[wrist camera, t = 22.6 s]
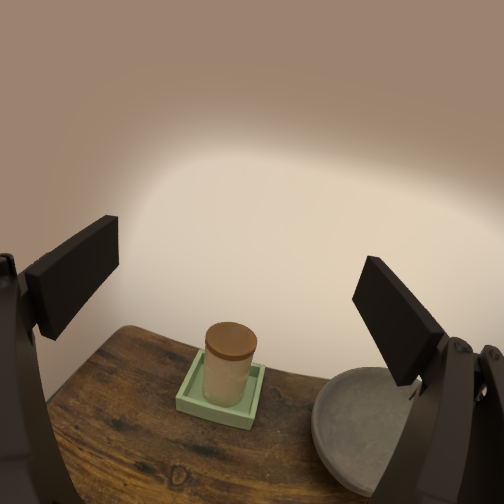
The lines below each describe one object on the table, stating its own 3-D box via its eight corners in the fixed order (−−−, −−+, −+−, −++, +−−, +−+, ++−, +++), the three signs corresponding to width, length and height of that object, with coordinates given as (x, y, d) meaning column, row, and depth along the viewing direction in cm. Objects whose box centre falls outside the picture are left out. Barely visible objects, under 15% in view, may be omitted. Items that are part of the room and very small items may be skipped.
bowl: (435, 492, 19) (472, 467, 16) (297, 521, 19) (323, 506, 16) (401, 396, 39) (423, 364, 36) (291, 395, 38) (306, 360, 35)
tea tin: (195, 401, 34) (198, 346, 29) (208, 372, 39) (213, 317, 35) (239, 413, 33) (252, 361, 29) (247, 382, 39) (260, 328, 34)
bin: (176, 410, 32) (175, 397, 31) (198, 362, 42) (199, 348, 40) (250, 430, 31) (254, 419, 30) (261, 378, 41) (265, 365, 39)
